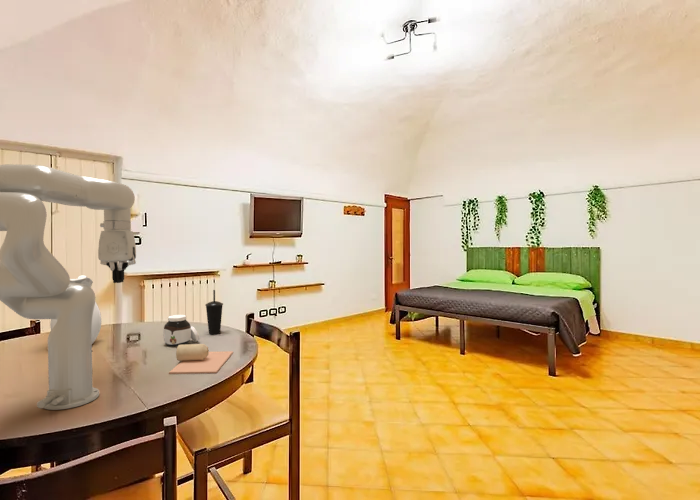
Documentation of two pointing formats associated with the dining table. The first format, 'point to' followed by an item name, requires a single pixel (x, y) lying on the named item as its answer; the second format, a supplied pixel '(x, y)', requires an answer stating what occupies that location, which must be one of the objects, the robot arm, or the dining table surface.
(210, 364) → the mat
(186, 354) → the candle
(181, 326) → the spread jar
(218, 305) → the drinking cup
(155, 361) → the dining table surface
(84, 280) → the pitcher
